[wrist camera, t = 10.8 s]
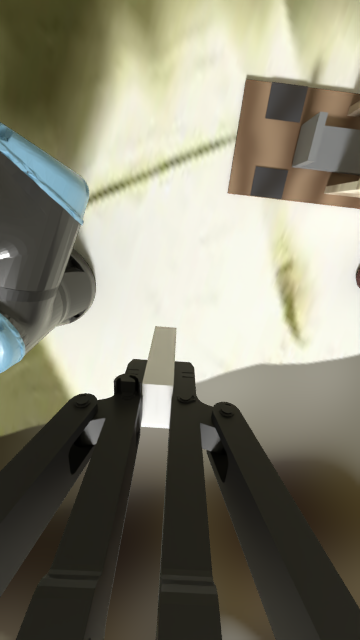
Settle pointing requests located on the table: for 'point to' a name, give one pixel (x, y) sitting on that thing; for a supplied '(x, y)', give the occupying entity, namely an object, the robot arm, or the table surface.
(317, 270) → the table surface
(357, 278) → the can
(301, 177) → the tunnel board
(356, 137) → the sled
